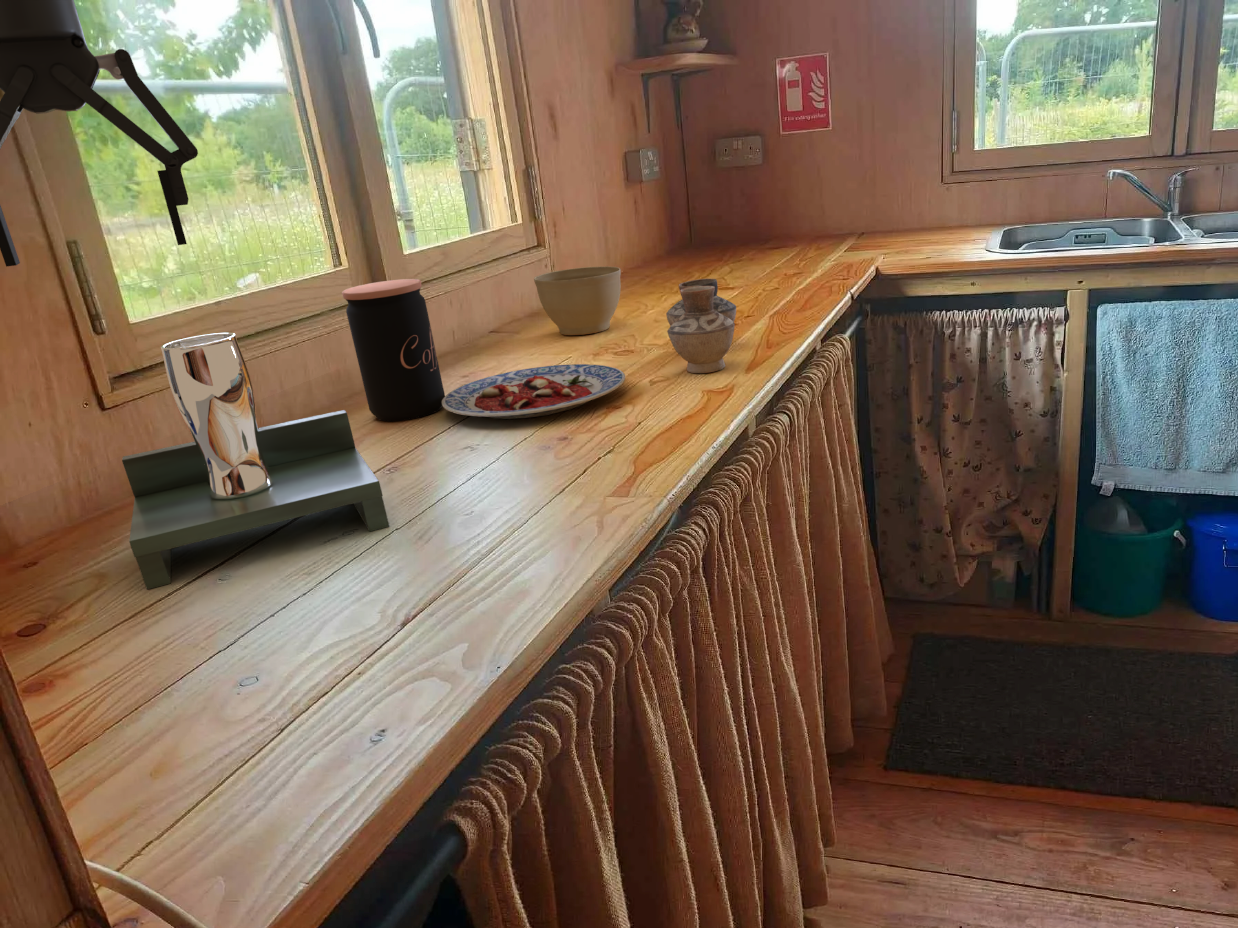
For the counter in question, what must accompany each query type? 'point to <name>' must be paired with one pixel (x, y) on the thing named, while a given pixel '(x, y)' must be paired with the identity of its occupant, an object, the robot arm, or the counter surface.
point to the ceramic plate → (533, 391)
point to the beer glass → (219, 412)
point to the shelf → (303, 484)
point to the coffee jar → (395, 349)
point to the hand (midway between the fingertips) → (100, 254)
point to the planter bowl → (580, 298)
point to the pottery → (701, 325)
